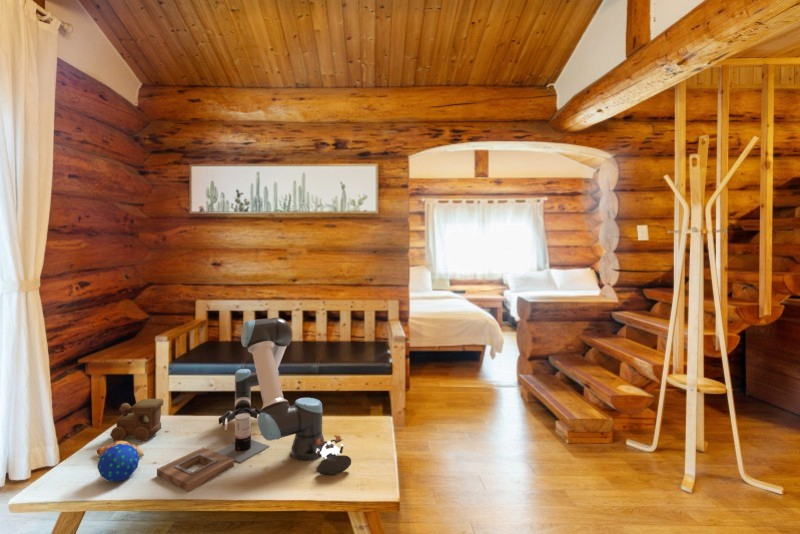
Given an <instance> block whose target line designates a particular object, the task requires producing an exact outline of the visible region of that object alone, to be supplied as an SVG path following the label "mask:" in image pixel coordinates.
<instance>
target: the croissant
mask: <svg viewBox="0 0 800 534" xmlns="http://www.w3.org/2000/svg"><path fill="white" fill-rule="evenodd" d="M117 444H129V445H131V446H133V447H134V448H135V449H137V452H138V454H139V459H141V458H142V457H144V452H143V450H142V449H141V448H139V447H138V446H137V445H136V444H131V443H130V442H128V441H127V440H123V441H115V442H113V443H110V444H108V445H105V446H103V447H99V448H97V449H96V453H97V455H99V457H100V456H101V455H102V454H103V453H104V452H105V451H106V449H108V448H110V447H112V446H115V445H117Z"/></svg>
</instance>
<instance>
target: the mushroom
mask: <svg viewBox="0 0 800 534" xmlns="http://www.w3.org/2000/svg"><path fill="white" fill-rule="evenodd" d="M131 445H132V444H130V445H129V444H117V445H115V446H112V447H110V448H108V449H106V451H105V452H104V453H103V454H102V455H101V456H100V455H99V458H98V463H97V470H98V473H99V475H100V477H102V478H103V479H105V480H106V481H108V482H111V483H112V482H116V483H117V482H118V483H120V482H123V481H124V480H127V479H128V478H130V477H131V476H132V475H133V473H134V472H135V471H136V470H137V468H138V466H139V461H140V458H139V454H138V452H137V449H135V448H134V447H133V446H131Z"/></svg>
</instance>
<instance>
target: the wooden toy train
mask: <svg viewBox="0 0 800 534" xmlns="http://www.w3.org/2000/svg"><path fill="white" fill-rule="evenodd" d="M162 406H164V399H163V398H146V399H145V398H144V399H141V400H139V401H138V402H136V403H134V404H133V405H132V406H131V405H130V403H128V402H124V403H122V404H121V405H120V407H119V411H120V413H121V415H120V416H118V417H117V418H116V427H113V428H112V430H111V431H110V433H109V436H110V438H111V439H112V440H113V441H115V442H116V441H125V439H126V438H127V437H134V439H135V440H136V441H137V442H145V441H147V440H148V439H149V437H151V436H154V435H155V434H156V433H158V432H159V431H160V430H162V422H161V417H162V415H161V414H162ZM129 412H130V413H129Z"/></svg>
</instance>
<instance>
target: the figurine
mask: <svg viewBox="0 0 800 534" xmlns="http://www.w3.org/2000/svg"><path fill="white" fill-rule="evenodd" d="M333 437H334V438H335V439H331V440H328V441H325V440H324V442H322V443H321V442H320V440H321V438H319V439H318V440H317V439H316V441H315V442H317V443H316V445H315V446H323V447H322V451H321V452H319V450H318V448H317V451H316V453H317V454H318V456H319V458H318V459H322V460H321V462H320V463H319V464H318V465H317V467H316V472H317V473H318V474H319V475H331V476H335V475H338V474H340V473H341V474H342V473H343V472H345V471H346V470H347V469H348V468H349V467H350V466H351V465H352V458H350V456H348V455H342V453H343V451H344V446H345V445H344V444H343V443H341V444H340V447H338V446H337V445H336V444H338V443H340V442H342V441H343V438H342V437H341V436H340V435H338V434H337V435H336V434H335V435H333ZM341 438H342V439H341ZM324 443H325V445H323V444H324Z"/></svg>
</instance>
